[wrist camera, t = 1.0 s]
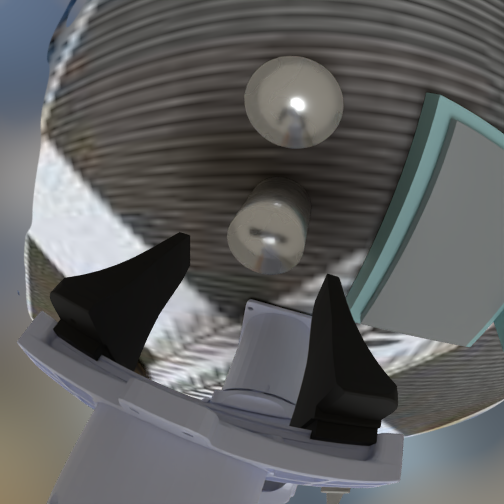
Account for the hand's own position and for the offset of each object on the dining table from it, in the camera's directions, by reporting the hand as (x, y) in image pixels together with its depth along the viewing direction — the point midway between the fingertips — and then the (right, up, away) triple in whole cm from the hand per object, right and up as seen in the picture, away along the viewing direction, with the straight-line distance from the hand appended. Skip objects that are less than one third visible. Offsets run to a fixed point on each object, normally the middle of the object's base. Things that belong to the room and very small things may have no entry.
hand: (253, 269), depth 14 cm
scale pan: (+15, 0, +1) cm, 15 cm away
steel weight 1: (+3, +10, +1) cm, 11 cm away
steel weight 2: (+2, +4, +6) cm, 7 cm away
